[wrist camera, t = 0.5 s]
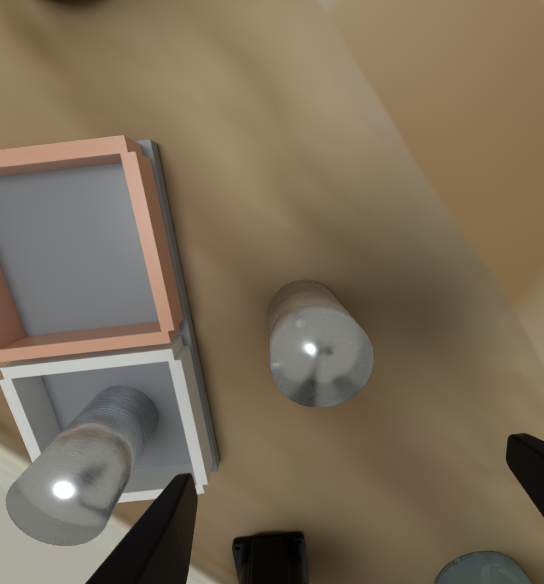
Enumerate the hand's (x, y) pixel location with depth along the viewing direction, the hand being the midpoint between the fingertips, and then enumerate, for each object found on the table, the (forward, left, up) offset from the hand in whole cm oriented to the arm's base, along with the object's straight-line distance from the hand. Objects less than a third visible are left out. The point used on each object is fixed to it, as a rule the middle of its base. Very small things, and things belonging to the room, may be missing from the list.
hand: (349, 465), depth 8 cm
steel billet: (0, 0, -13) cm, 13 cm away
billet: (-6, +14, -12) cm, 19 cm away
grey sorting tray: (0, +14, -13) cm, 19 cm away
